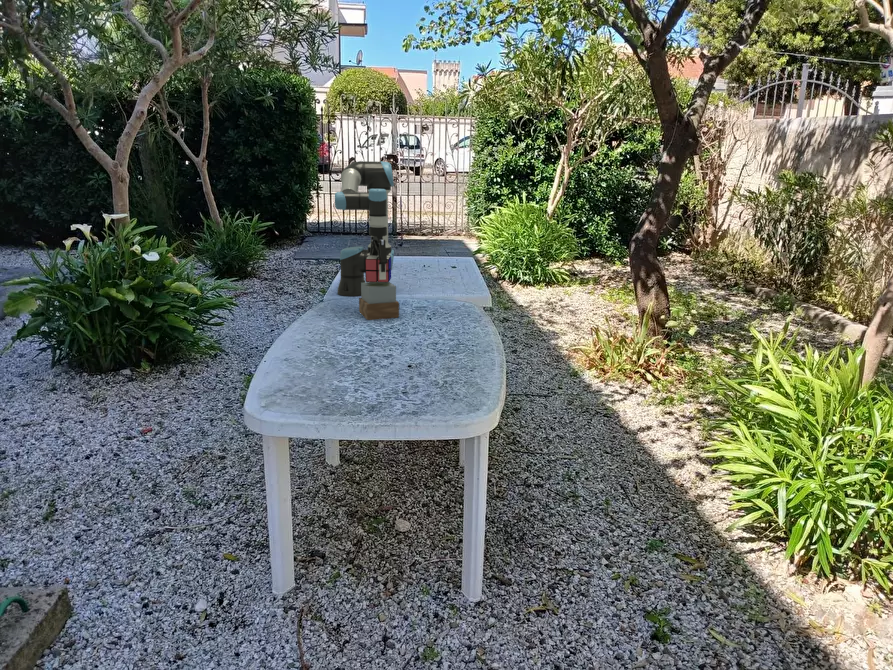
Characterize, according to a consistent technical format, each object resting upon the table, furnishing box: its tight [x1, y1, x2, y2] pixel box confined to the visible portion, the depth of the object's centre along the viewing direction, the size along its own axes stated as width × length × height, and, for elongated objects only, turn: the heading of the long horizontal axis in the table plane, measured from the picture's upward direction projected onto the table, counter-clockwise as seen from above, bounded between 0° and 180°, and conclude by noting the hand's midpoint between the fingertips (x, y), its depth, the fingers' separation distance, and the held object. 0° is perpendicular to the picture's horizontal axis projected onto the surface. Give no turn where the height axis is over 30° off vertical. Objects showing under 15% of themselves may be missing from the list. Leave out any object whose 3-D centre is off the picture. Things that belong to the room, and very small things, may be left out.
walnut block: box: [358, 297, 400, 321], centre depth 276 cm, size 14×14×7 cm
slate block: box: [360, 281, 397, 304], centre depth 275 cm, size 12×12×7 cm
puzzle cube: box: [364, 255, 392, 282], centre depth 272 cm, size 10×10×10 cm
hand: (378, 276), depth 273 cm, fingers closed on puzzle cube, 12 cm apart
